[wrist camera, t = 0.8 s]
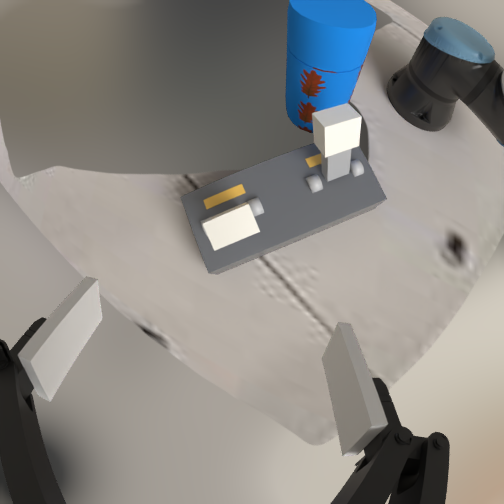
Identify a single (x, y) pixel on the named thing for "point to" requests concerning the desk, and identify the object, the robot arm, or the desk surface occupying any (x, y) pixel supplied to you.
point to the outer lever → (231, 226)
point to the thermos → (324, 54)
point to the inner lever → (336, 138)
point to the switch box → (282, 203)
